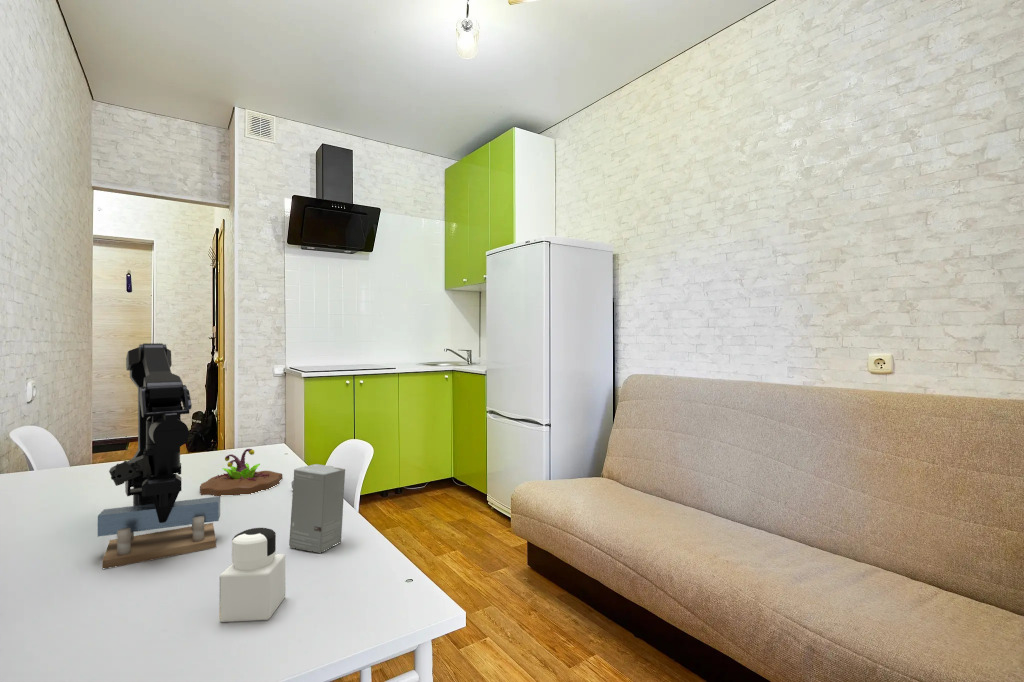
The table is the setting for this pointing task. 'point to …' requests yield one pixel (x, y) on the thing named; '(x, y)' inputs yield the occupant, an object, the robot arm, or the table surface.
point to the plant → (240, 479)
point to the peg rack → (158, 544)
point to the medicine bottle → (252, 577)
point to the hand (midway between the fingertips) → (163, 519)
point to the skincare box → (317, 507)
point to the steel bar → (148, 519)
